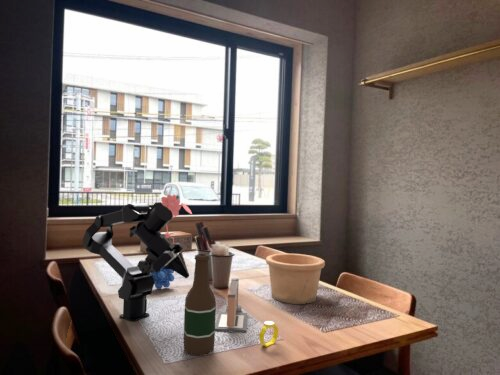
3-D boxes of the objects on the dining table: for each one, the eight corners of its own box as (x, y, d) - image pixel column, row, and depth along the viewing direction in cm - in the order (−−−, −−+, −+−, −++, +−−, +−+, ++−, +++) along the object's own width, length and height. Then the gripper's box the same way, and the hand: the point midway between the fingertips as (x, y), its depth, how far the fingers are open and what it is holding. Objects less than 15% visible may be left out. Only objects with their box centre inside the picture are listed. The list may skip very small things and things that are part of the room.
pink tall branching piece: (136, 265, 181) (139, 193, 180) (182, 260, 199) (185, 193, 197) (151, 273, 170) (155, 195, 169) (199, 266, 187) (202, 195, 186)
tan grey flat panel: (230, 304, 126) (231, 278, 126) (237, 305, 126) (238, 278, 126) (226, 325, 108) (227, 294, 107) (234, 326, 108) (235, 294, 107)
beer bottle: (215, 343, 100) (218, 252, 99) (213, 356, 92) (216, 258, 91) (185, 342, 99) (188, 251, 99) (180, 356, 92) (184, 257, 91)
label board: (220, 307, 127) (221, 304, 127) (247, 308, 127) (247, 305, 127) (214, 330, 108) (214, 326, 108) (245, 332, 108) (246, 327, 107)
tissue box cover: (178, 247, 237) (179, 231, 237) (191, 250, 226) (192, 234, 226) (140, 251, 219) (140, 233, 219) (152, 255, 209) (153, 237, 209)
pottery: (325, 292, 150) (326, 256, 150) (320, 310, 129) (322, 268, 128) (271, 286, 156) (273, 251, 155) (258, 302, 134) (260, 262, 134)
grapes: (146, 293, 139) (147, 261, 139) (142, 288, 145) (143, 257, 145) (177, 290, 145) (178, 259, 144) (172, 285, 151) (173, 255, 150)
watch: (265, 350, 97) (264, 328, 97) (257, 347, 99) (257, 324, 99) (280, 342, 101) (280, 320, 101) (272, 339, 103) (272, 317, 103)
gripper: (142, 251, 123) (175, 286, 123) (121, 263, 104) (160, 305, 104) (167, 227, 122) (200, 263, 122) (151, 236, 104) (189, 278, 104)
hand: (187, 277), depth 113 cm, fingers closed
